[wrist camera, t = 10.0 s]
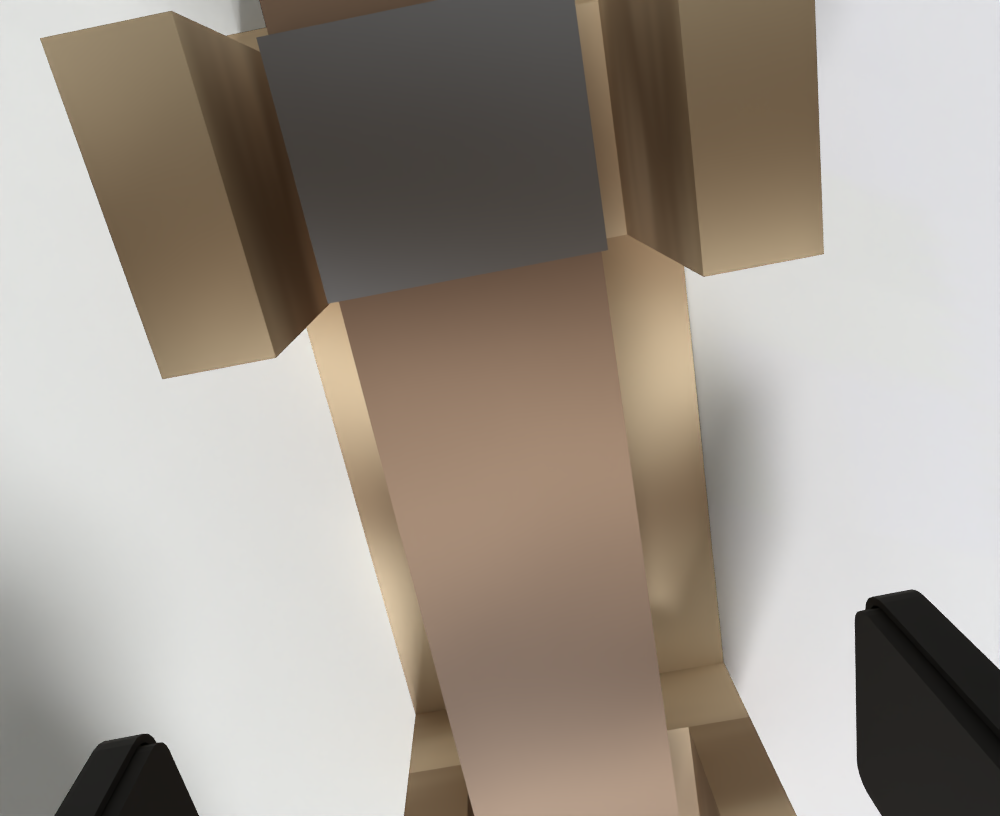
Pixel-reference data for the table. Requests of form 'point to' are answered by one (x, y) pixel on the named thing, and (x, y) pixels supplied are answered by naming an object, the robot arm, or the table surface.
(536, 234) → the rail
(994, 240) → the table surface
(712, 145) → the wooden cradle stand
